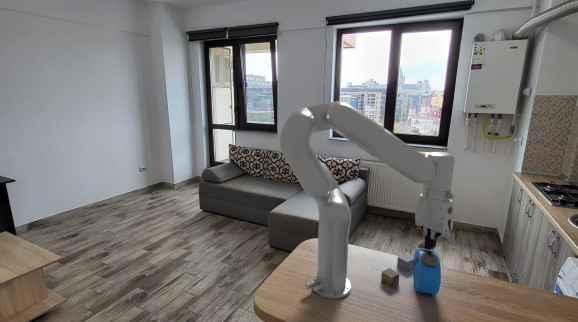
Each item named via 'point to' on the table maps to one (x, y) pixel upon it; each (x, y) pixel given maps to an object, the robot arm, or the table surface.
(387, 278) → the walnut block
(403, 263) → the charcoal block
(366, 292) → the table surface
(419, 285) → the alarm clock
